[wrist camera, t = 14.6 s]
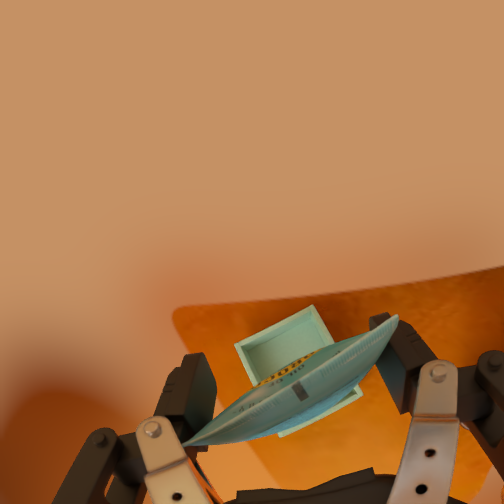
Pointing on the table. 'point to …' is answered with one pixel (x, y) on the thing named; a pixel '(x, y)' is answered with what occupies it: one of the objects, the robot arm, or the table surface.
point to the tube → (298, 390)
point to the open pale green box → (288, 352)
